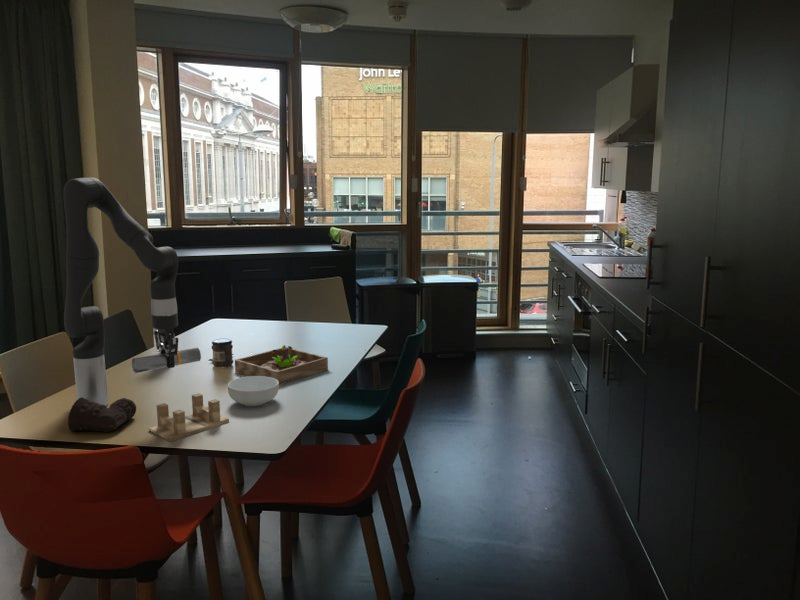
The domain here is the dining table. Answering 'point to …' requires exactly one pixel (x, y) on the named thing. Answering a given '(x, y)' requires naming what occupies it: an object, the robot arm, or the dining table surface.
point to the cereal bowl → (253, 390)
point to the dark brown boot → (100, 415)
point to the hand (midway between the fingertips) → (167, 365)
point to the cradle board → (188, 419)
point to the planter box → (254, 368)
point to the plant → (283, 360)
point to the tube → (161, 362)
